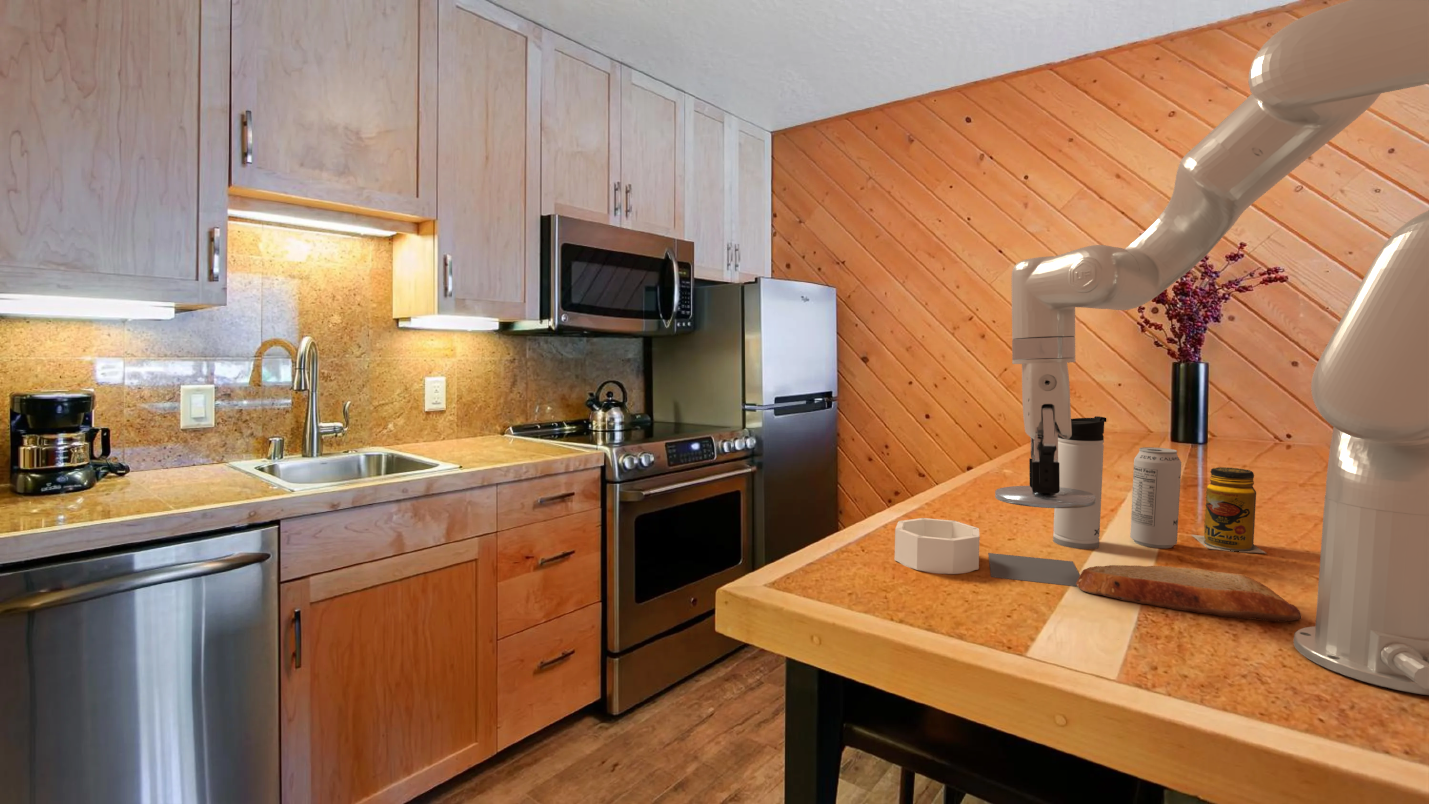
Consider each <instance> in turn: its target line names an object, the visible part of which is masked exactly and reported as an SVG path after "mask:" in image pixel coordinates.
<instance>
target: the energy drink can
mask: <svg viewBox="0 0 1429 804" xmlns="http://www.w3.org/2000/svg"><path fill="white" fill-rule="evenodd" d="M1132 473H1133V474H1132V475H1133V476H1132V492H1131V493H1132V494H1131V497H1132V498H1131V513H1130V515H1131V517H1130V536H1129V537H1130V539H1131V540H1133V542H1134V543H1135V544H1137V545H1140V546H1143V547H1149V548H1155V549H1171V548H1173V547H1174V546H1175V545H1177V544H1178V532H1179V531H1178V530H1179V528H1178V527H1179V515H1180V514H1179V513H1180V512H1179V511H1180V495H1181V477H1182V476H1181V475H1182V461H1181V459H1180V457H1179V456H1178V450H1176V449H1173V448H1172V449H1171V448H1165V447H1150V446H1149V447H1145V446H1143V447H1140V448H1139V449H1138V453H1137V454H1136V456H1135V457H1134V460H1133V472H1132Z"/></svg>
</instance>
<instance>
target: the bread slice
mask: <svg viewBox="0 0 1429 804" xmlns="http://www.w3.org/2000/svg"><path fill="white" fill-rule="evenodd" d="M1079 575H1080V577H1079V579H1078V581H1077V582H1076V585H1077V586H1078V587H1077V588H1078V589H1079V590H1080V591H1082V592H1085V593H1089V594H1093V595H1098V596H1099V595H1100V596H1103V597H1107V598H1112V599H1116V600H1119V601H1123V602H1124V601H1125V602H1132V603H1135V604H1141V605H1142V604H1143V605H1150V606H1155V607H1159V608H1160V607H1161V608H1166V609H1167V608H1168V609H1172V610H1177V611H1184V612H1192V613H1197V614H1203V615H1204V614H1205V615H1206V614H1208V615H1213V616H1218V617H1231V618H1237V619H1241V620H1242V619H1243V620H1257V621H1267V622H1271V623H1272V622H1291V621H1299V620H1301V619H1302V613H1301V611H1300V609H1298V607H1297V606H1295V605H1294V604H1292V603H1289V602H1288V601H1287V600H1286V599H1284V598H1283V597H1282V596H1280V595H1279V594H1278V593H1276V592H1275V591H1274V590H1272V589H1271V588H1269V587H1268V586H1266V585H1265V584H1263V583H1261V582H1259V581H1258V580H1256V579H1254V578H1252V577H1250V576H1248V575H1246V574H1241V573H1232V572H1230V573H1229V572H1223V571H1214V570H1209V569H1204V568H1192V567H1191V568H1190V567H1175V566H1168V565H1165V566H1164V565H1148V566H1147V565H1146V566H1145V565H1125V564H1123V565H1119V564H1118V565H1116V564H1112V565H1110V564H1109V565H1104V566H1102V565H1097V566H1090V567H1087V568H1085V569H1083V570H1082V571H1081V573H1080V574H1079Z"/></svg>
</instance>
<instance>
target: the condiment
mask: <svg viewBox="0 0 1429 804" xmlns="http://www.w3.org/2000/svg"><path fill="white" fill-rule="evenodd" d="M1254 478H1255V473H1254V471H1252V470H1249V469H1245V468H1237V467H1227V466H1226V467H1220V466H1219V467H1213V468H1211V469H1210V478H1209V481H1210V483H1209V484H1208V485H1207V487H1206V490H1205V491H1206V493H1205V494H1206V495H1205V509H1204V511H1205V513H1204V522H1203V523H1204V525H1203V527H1204V531H1203V532H1204V534H1203V535H1197V534H1191V536H1192V538H1194V539H1195V540H1197V541H1198V542H1199V544H1201V545H1202V546H1203V547H1205V548H1206V549H1209V550H1219V551H1224V552H1225V551H1226V552H1234V551H1239V552H1240V553H1257V554H1267V552H1266V551H1264V550H1262V549H1261V548H1259V547H1258V546H1256V545H1255V540H1254V539H1255V526H1256V525H1255V522H1256V504H1257V503H1256V502H1257V490H1256V489H1255V488H1254V484H1255V481H1254ZM1205 544H1206V545H1205ZM1230 550H1231V551H1230ZM1239 552H1238V553H1239Z"/></svg>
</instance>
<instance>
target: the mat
mask: <svg viewBox="0 0 1429 804" xmlns="http://www.w3.org/2000/svg"><path fill="white" fill-rule="evenodd" d="M988 563H989V573H990V578H997V579H1006V580H1013V581H1022V582H1031V583H1040V584H1049V585H1058V586H1067V587H1076V588H1078V586H1077V585H1076V582H1077V581H1078V579H1079V577H1080V575H1081V574H1080V573H1079V570H1077V567H1076V565H1075V563H1074V561H1072V560H1062V559H1054V558H1042V557H1033V556H1023V555H1022V556H1021V555H1013V554H1012V555H1011V554H1003V553H994V552H993V553H992V552H988Z"/></svg>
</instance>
